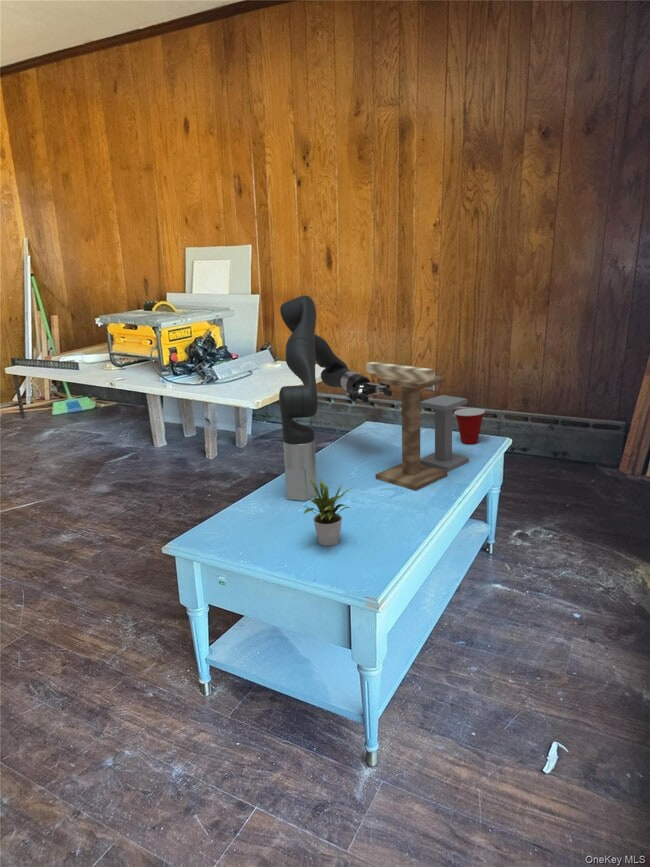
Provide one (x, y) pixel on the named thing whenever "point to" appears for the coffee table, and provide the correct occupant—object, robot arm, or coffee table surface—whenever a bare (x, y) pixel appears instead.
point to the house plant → (327, 515)
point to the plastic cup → (469, 424)
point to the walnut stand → (410, 437)
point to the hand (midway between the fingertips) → (379, 396)
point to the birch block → (400, 371)
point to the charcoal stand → (443, 433)
